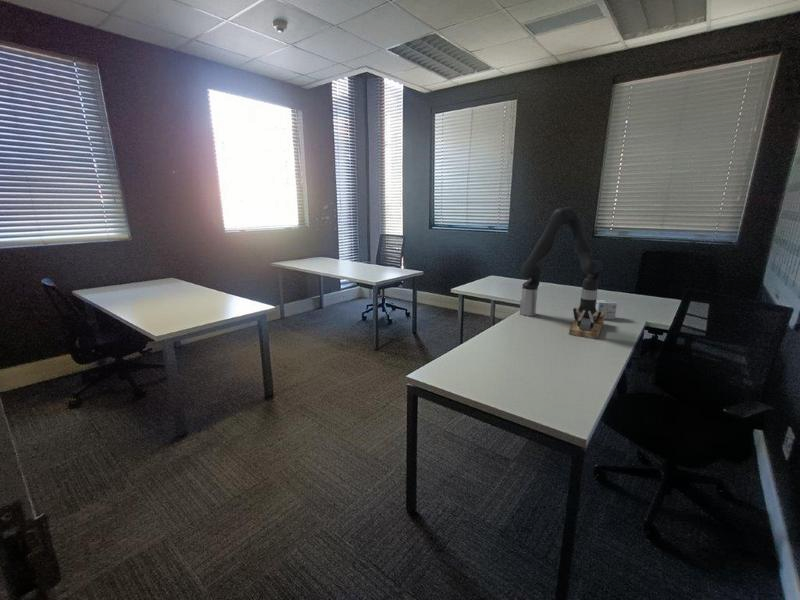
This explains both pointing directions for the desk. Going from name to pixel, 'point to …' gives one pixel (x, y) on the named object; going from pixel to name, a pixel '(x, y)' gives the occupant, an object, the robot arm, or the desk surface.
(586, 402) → the desk surface
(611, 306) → the light bulb box
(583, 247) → the robot arm
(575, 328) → the wooden box
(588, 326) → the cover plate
